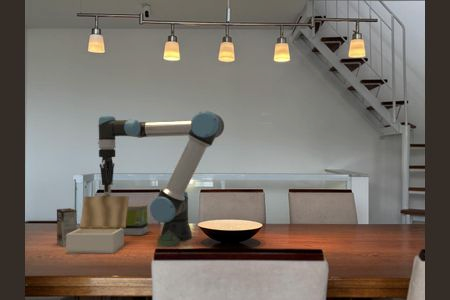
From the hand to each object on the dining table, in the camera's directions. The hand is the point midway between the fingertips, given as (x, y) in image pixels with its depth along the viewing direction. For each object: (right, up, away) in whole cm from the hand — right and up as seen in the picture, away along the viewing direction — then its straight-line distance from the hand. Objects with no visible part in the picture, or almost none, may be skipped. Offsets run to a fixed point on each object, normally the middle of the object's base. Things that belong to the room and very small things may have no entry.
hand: (107, 198), depth 181 cm
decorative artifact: (+30, -20, -7) cm, 37 cm away
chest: (0, -20, -15) cm, 25 cm away
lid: (0, -5, -6) cm, 7 cm away
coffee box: (-18, -21, -4) cm, 28 cm away
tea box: (+7, -21, +19) cm, 29 cm away
